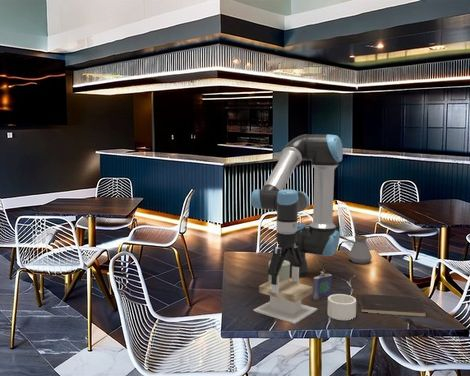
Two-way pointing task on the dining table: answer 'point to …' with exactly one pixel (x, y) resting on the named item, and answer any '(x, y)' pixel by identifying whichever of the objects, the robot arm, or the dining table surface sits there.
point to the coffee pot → (359, 250)
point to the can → (283, 271)
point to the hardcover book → (391, 305)
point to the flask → (322, 286)
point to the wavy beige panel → (287, 290)
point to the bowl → (341, 307)
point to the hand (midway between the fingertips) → (285, 287)
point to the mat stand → (285, 310)
